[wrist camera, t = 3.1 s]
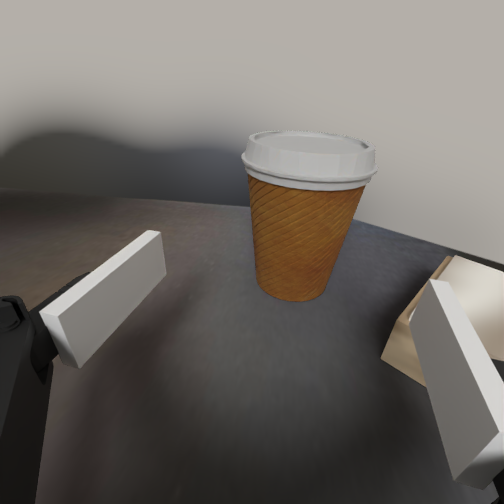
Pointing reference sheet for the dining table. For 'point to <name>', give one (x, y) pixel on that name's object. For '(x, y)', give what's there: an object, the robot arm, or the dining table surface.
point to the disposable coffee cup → (303, 205)
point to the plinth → (473, 303)
